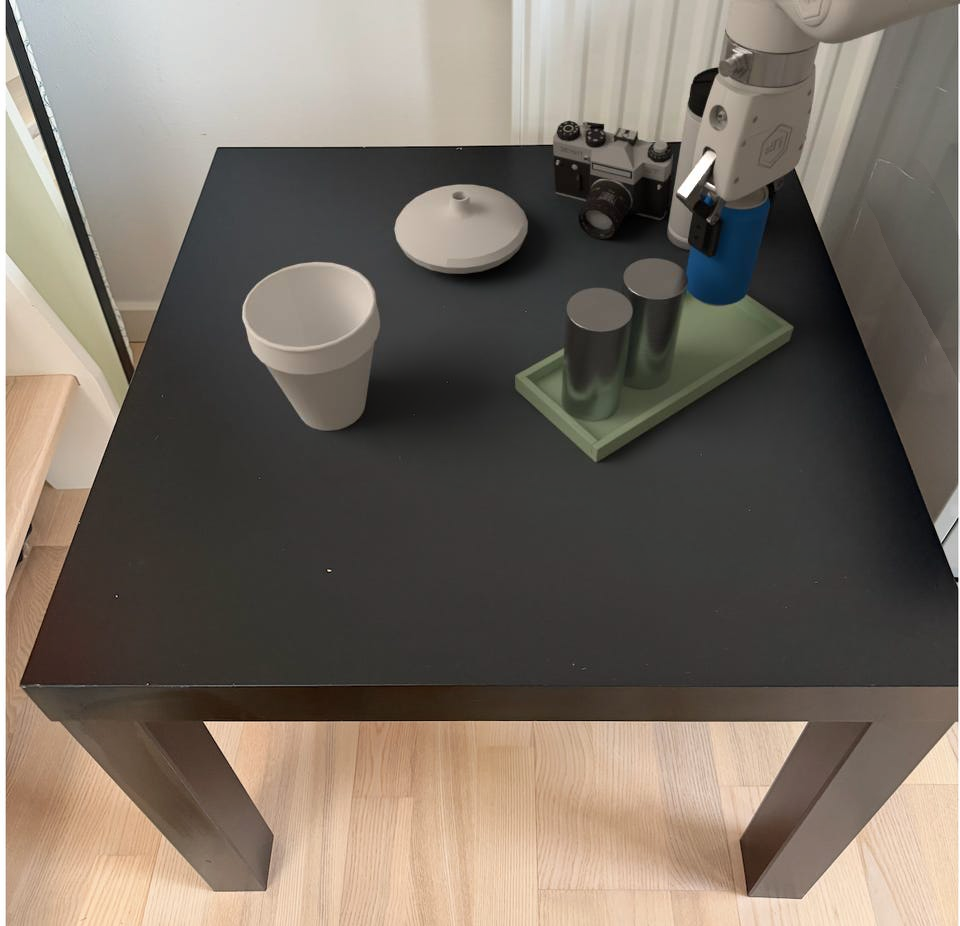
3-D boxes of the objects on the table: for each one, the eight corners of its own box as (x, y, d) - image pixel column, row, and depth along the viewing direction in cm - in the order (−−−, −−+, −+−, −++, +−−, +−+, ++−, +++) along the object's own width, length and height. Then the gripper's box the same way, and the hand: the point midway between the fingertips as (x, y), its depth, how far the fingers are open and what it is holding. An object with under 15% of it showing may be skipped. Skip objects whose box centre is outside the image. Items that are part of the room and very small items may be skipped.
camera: (533, 229, 113) (528, 167, 104) (566, 170, 117) (564, 106, 109) (645, 259, 109) (649, 197, 100) (675, 197, 113) (682, 132, 104)
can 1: (632, 403, 91) (646, 312, 82) (587, 430, 89) (596, 340, 80) (593, 370, 94) (602, 279, 85) (548, 396, 92) (553, 305, 83)
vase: (373, 236, 111) (366, 186, 105) (480, 193, 116) (479, 142, 111) (441, 306, 102) (437, 255, 97) (554, 255, 107) (556, 204, 102)
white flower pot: (300, 470, 88) (272, 369, 77) (253, 392, 94) (221, 289, 84) (413, 420, 91) (400, 317, 81) (359, 348, 98) (341, 245, 88)
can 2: (682, 372, 94) (701, 281, 85) (640, 398, 92) (654, 307, 82) (642, 341, 97) (656, 250, 88) (600, 366, 95) (610, 274, 86)
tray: (789, 340, 97) (794, 326, 96) (596, 463, 87) (597, 449, 86) (704, 281, 104) (707, 267, 102) (514, 389, 94) (514, 375, 92)
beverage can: (696, 263, 96) (715, 163, 87) (755, 281, 94) (782, 180, 85) (674, 299, 93) (692, 198, 83) (735, 318, 91) (760, 217, 81)
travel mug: (726, 252, 107) (762, 90, 92) (669, 252, 107) (696, 91, 92) (718, 220, 111) (751, 60, 96) (664, 220, 111) (688, 61, 96)
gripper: (727, 108, 69) (691, 291, 83) (873, 38, 76) (817, 219, 89) (658, 70, 73) (635, 251, 87) (802, 7, 79) (759, 185, 93)
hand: (727, 234), depth 88 cm, fingers closed on beverage can, 6 cm apart
